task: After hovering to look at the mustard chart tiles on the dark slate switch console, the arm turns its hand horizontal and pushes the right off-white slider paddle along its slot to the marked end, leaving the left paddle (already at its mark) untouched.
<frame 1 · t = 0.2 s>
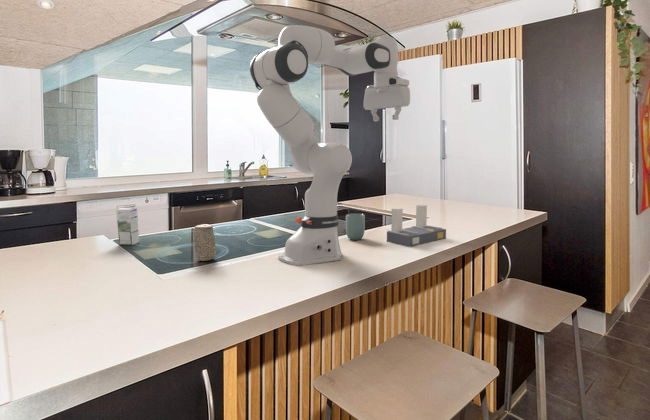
hand: (385, 120, 162), 47 cm above the countertop, tool pointing down, fingers open, 8 cm apart
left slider: (396, 219, 169), point 9 cm above the countertop, slide at 0.0 cm
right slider: (421, 215, 178), point 9 cm above the countertop, slide at 0.0 cm
switch console: (416, 240, 172), on the countertop
syrup box: (129, 244, 171), on the countertop
cup: (355, 239, 176), on the countertop
carving: (205, 260, 145), on the countertop
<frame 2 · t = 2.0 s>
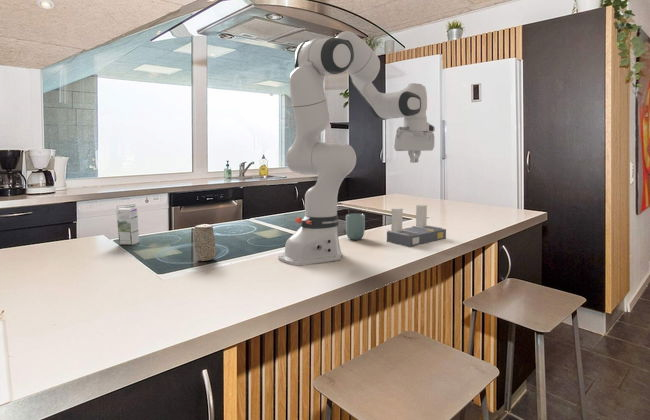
hand: (414, 162, 169), 31 cm above the countertop, tool pointing down, fingers closed
nothing on the countertop moved.
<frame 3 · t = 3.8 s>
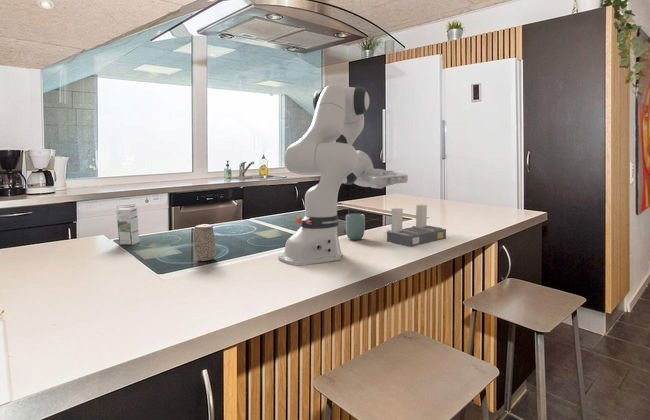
hand: (401, 180, 185), 23 cm above the countertop, tool horizontal, fingers closed
nothing on the countertop moved.
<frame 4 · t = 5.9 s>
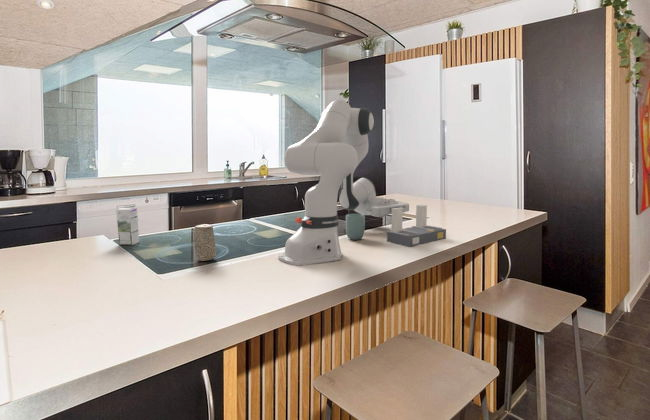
hand: (403, 210, 185), 10 cm above the countertop, tool horizontal, fingers closed
nothing on the countertop moved.
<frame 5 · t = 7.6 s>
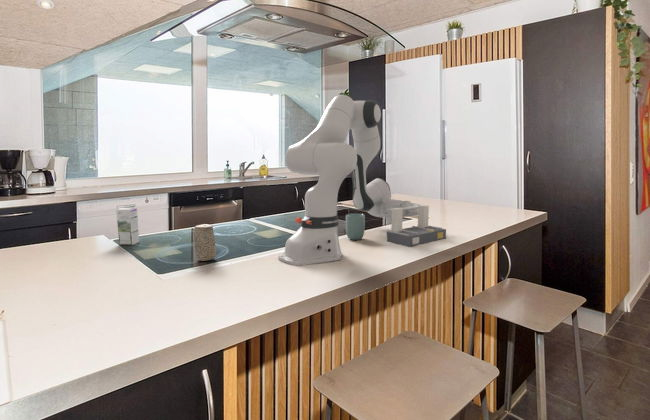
hand: (420, 213, 178), 10 cm above the countertop, tool horizontal, fingers closed, pressing on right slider
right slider: (423, 216, 177), point 9 cm above the countertop, slide at 1.0 cm, touching gripper
everything else where it was.
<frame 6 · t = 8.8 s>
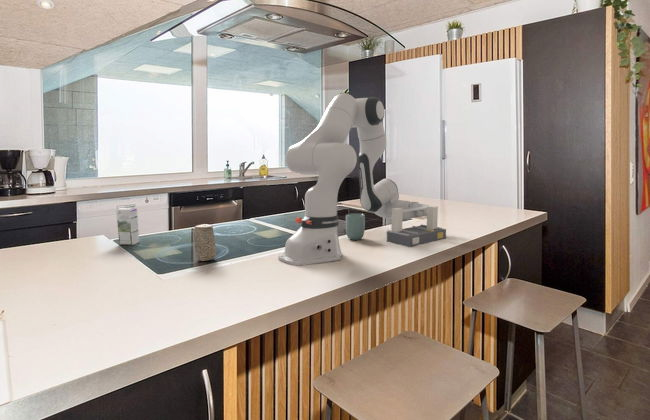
hand: (429, 214, 175), 10 cm above the countertop, tool horizontal, fingers closed, pressing on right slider
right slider: (432, 217, 174), point 9 cm above the countertop, slide at 5.5 cm, touching gripper
everything else where it was.
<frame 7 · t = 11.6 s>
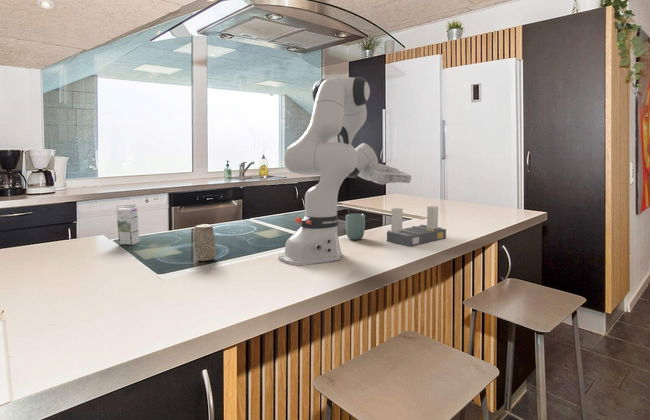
hand: (403, 180, 181), 23 cm above the countertop, tool horizontal, fingers closed
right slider: (432, 217, 174), point 9 cm above the countertop, slide at 5.7 cm
everything else where it was.
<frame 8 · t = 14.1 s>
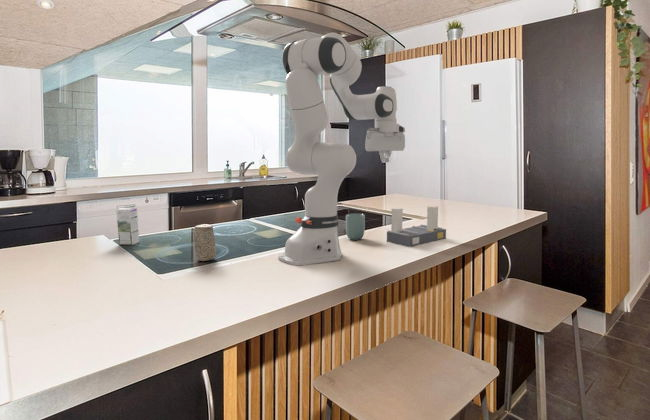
hand: (385, 162, 176), 31 cm above the countertop, tool pointing down, fingers closed
nothing on the countertop moved.
at the end: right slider slide at 5.7 cm; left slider slide at 0.0 cm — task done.
